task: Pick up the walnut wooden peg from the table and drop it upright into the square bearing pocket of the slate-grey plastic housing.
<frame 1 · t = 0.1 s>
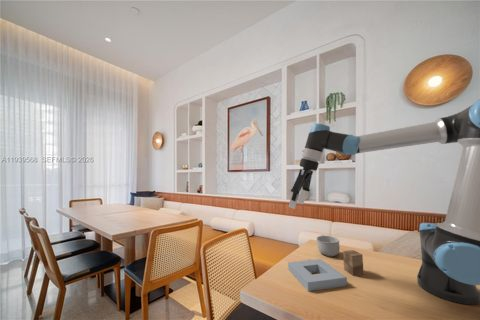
hand: (296, 205, 85), 28 cm above the table, tool tilted 20°, fingers open, 13 cm apart
peg: (353, 272, 81), on the table
teacup: (327, 253, 101), on the table
housing: (315, 276, 78), on the table
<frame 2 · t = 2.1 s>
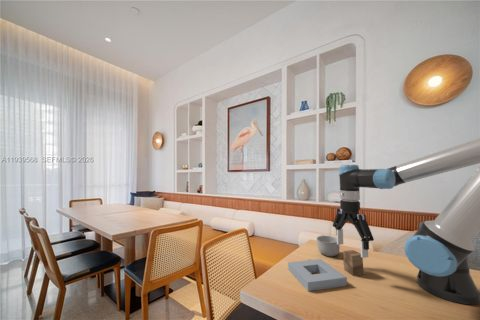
hand: (351, 250, 82), 9 cm above the table, tool pointing down, fingers open, 13 cm apart
nothing on the table moved.
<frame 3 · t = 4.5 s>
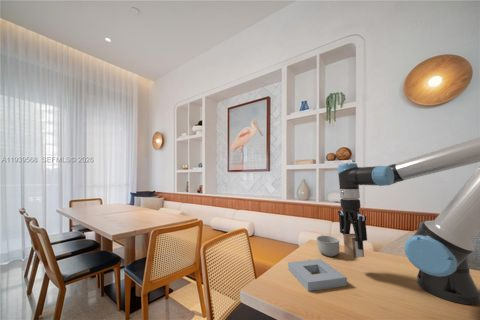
hand: (354, 254, 81), 8 cm above the table, tool pointing down, fingers closed on peg, 5 cm apart
peg: (354, 255, 81), point 7 cm above the table, touching gripper
everything else where it was.
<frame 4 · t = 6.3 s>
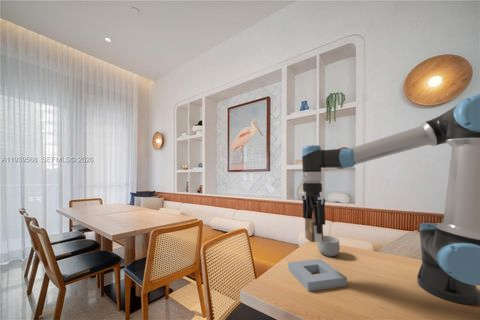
hand: (314, 238, 79), 15 cm above the table, tool pointing down, fingers closed on peg, 5 cm apart
peg: (314, 239, 79), point 15 cm above the table, touching gripper
everything else where it was.
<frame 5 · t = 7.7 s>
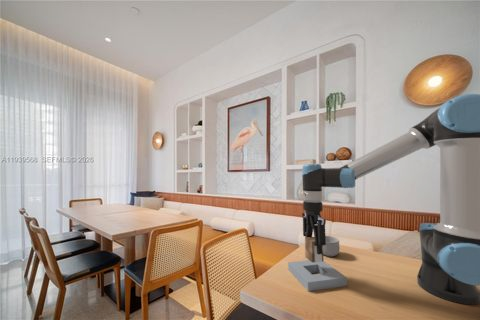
hand: (314, 258, 78), 7 cm above the table, tool pointing down, fingers closed on peg, 5 cm apart
peg: (314, 259, 78), point 7 cm above the table, touching gripper
everything else where it was.
when the fingers open (3 cm above the table, at t = 8.7 s): peg drops 3 cm, resting in housing.
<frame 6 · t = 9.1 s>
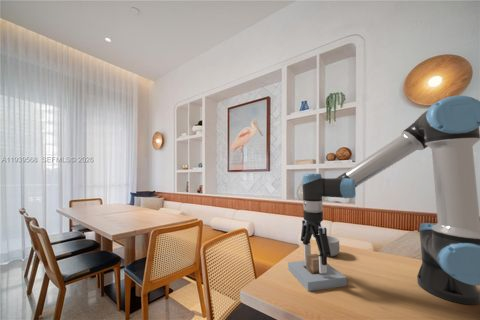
hand: (314, 265, 78), 4 cm above the table, tool pointing down, fingers open, 10 cm apart
peg: (315, 277, 78), resting in housing
everything else where it was.
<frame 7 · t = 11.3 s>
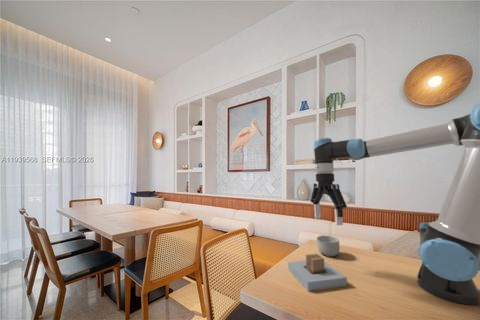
hand: (327, 221, 84), 21 cm above the table, tool pointing down, fingers open, 13 cm apart
nothing on the table moved.
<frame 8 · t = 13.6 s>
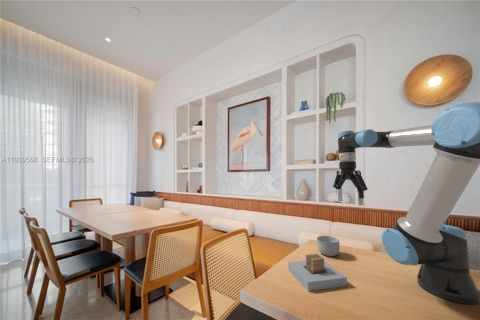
hand: (349, 203, 97), 27 cm above the table, tool pointing down, fingers open, 13 cm apart
nothing on the table moved.
at the end: peg 0.1 cm off-centre on the housing, point 0.0 cm above the housing's base; peg tilted 0°; the gripper is holding nothing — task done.
